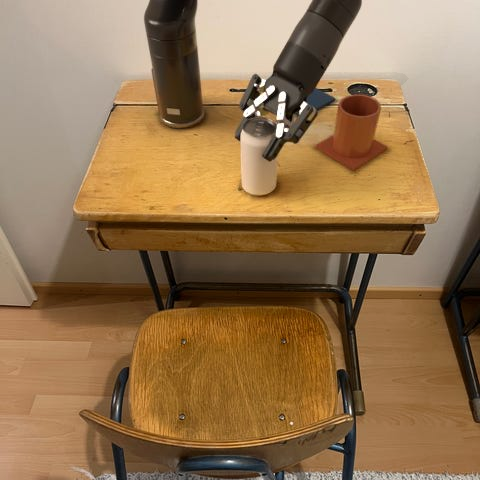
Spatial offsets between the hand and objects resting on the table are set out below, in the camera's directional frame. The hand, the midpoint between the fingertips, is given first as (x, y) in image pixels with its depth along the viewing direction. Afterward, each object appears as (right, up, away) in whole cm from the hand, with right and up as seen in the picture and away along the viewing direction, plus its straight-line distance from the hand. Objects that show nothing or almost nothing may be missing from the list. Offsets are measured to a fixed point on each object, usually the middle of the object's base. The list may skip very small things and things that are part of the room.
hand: (252, 149), depth 79 cm
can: (+1, -4, +8) cm, 9 cm away
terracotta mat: (+20, +5, +13) cm, 24 cm away
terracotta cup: (+20, +5, +13) cm, 24 cm away
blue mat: (+12, +20, +24) cm, 33 cm away
